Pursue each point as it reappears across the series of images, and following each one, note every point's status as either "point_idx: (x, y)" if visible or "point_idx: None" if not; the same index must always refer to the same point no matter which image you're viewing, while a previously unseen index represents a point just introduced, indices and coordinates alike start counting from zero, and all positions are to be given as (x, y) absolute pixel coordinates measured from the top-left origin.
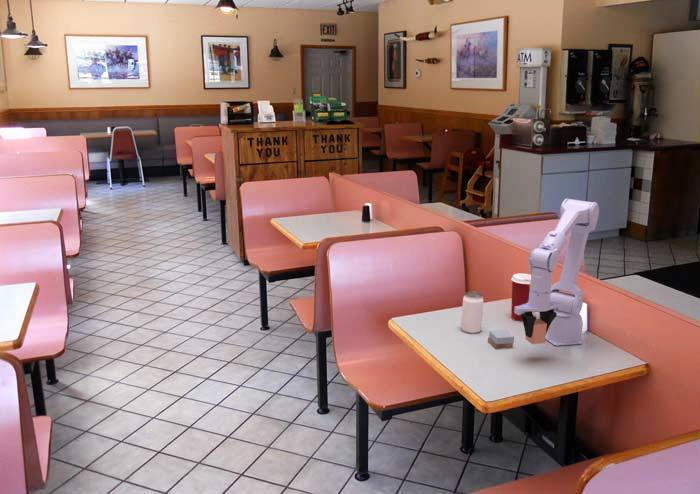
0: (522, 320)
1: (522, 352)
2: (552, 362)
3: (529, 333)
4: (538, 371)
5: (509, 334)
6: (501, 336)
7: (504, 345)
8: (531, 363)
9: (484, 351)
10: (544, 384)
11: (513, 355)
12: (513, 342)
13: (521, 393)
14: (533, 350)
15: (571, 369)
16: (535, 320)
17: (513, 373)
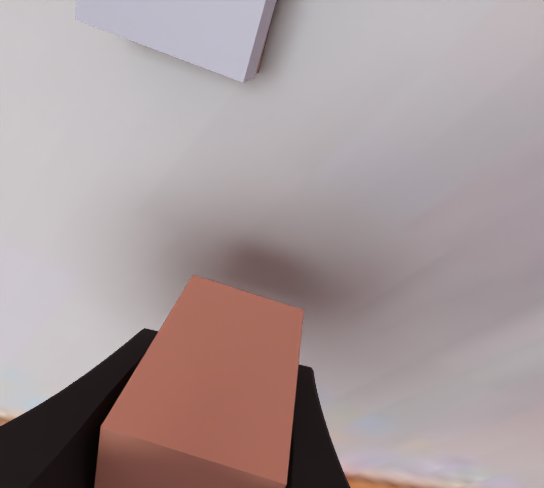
0: (7, 428)
1: (267, 167)
2: (319, 336)
3: None
4: None
5: (242, 5)
6: (134, 11)
7: None
8: None
9: (27, 21)
10: None
11: (181, 173)
12: (252, 77)
13: (9, 418)
14: (360, 180)
15: (335, 413)
16: (184, 486)
17: (58, 317)
